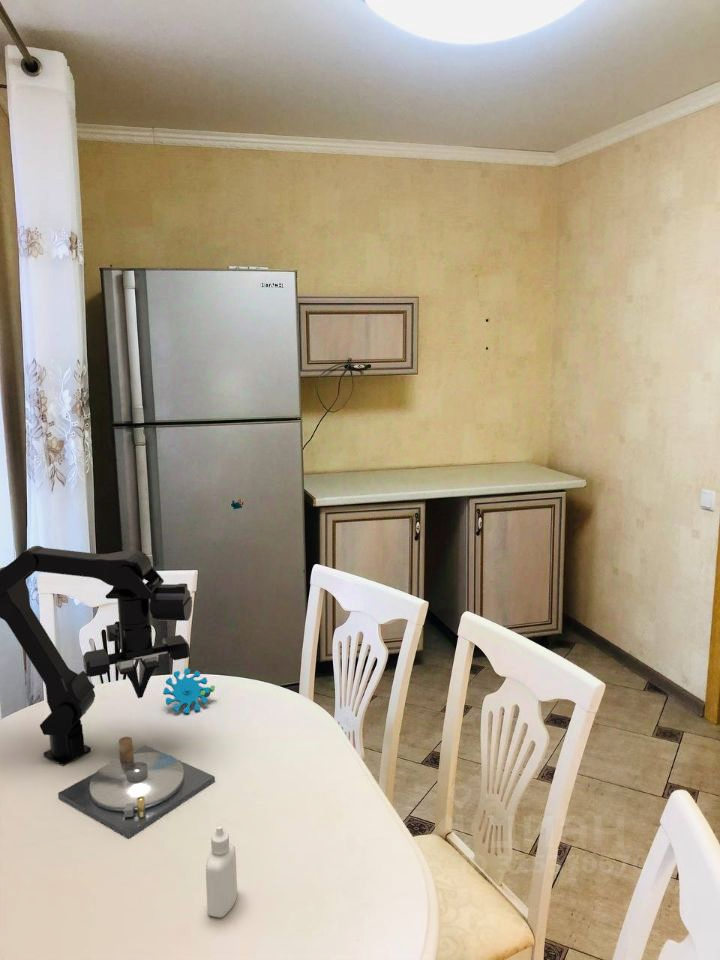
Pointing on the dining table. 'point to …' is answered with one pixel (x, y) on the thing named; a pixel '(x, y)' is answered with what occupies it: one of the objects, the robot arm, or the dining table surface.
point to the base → (142, 816)
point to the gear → (187, 691)
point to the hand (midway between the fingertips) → (139, 697)
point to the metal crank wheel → (135, 779)
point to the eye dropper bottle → (221, 875)
